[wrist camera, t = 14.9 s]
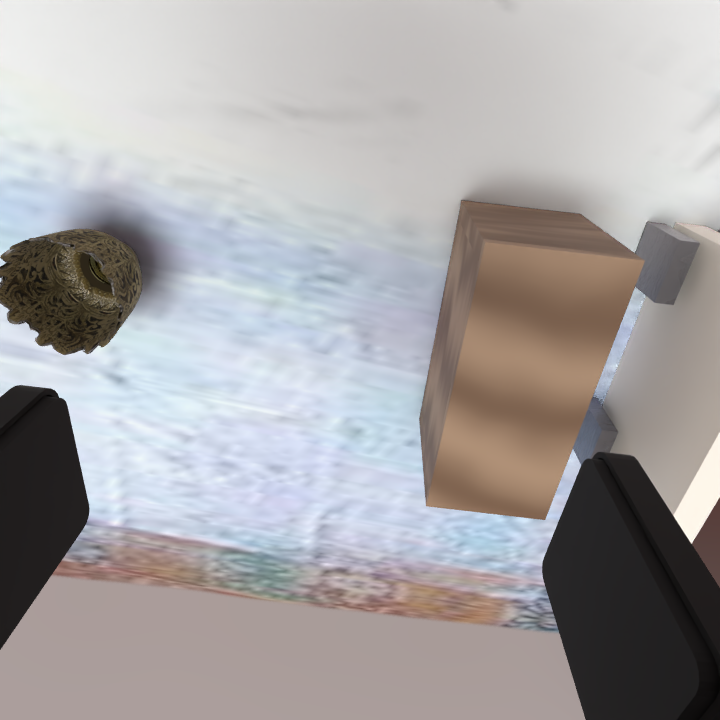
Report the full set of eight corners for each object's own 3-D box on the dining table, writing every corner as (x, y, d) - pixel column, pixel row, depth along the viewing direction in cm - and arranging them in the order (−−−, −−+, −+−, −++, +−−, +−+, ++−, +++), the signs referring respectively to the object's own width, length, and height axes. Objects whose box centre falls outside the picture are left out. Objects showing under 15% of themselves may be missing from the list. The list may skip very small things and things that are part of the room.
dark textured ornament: (189, 269, 38) (143, 313, 31) (126, 324, 40) (70, 375, 33) (110, 186, 35) (39, 212, 28) (47, 249, 37) (-32, 289, 30)
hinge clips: (647, 221, 34) (680, 240, 30) (736, 232, 34) (780, 252, 30) (567, 436, 43) (584, 472, 39) (638, 444, 43) (662, 481, 39)
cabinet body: (461, 200, 34) (485, 242, 25) (580, 214, 34) (644, 260, 25) (419, 418, 43) (426, 506, 34) (513, 429, 43) (545, 519, 34)
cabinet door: (675, 222, 34) (800, 286, 24) (716, 227, 34) (860, 293, 24) (589, 436, 43) (653, 552, 32) (622, 440, 43) (696, 557, 32)
